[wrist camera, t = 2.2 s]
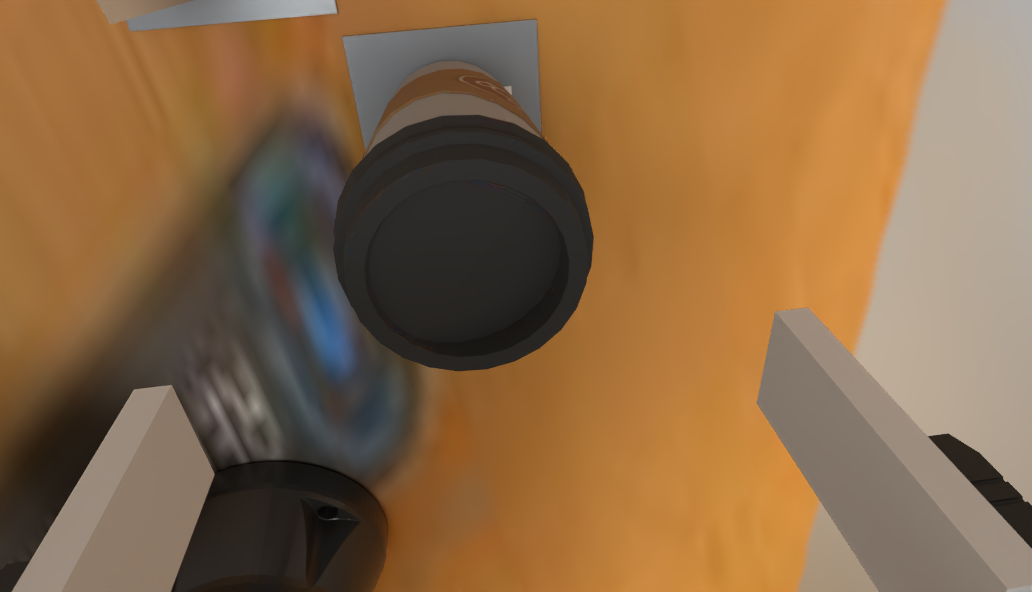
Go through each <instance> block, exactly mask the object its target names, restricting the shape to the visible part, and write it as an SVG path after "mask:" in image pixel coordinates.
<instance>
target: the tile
mask: <svg viewBox="0 0 1032 592" xmlns="http://www.w3.org/2000/svg"><path fill="white" fill-rule="evenodd" d="M342 39H343V44H344V48H345V53H346V58H347V63H348V68H349V73H350V78H351V83H352V88H353V93H354V98H355V103H356V108H357V112H358V117H359V122H360V127H361V132H362V137H363V142H364V147H365V151H366V149H367V146H368V144H369V142H370V140H371V138H372V136H373V134H374V132H375V130H376V127H377V125H378V123H379V121H380V119H381V117H382V115H383V113H384V111H385V108H386V106H387V104H388V103H389V102H390V101H391V99H392V98H393V96H394V94H395V92H396V89H397V88H398V87H399V86H400V85H401V84H402V82H403V81H404V80H405V79H406V78H407V77H408V76H409V75H410V74H412V73H414V72H415V71H417V70H418V69H420V68H421V67H423V66H426V65H429V64H433V63H436V62H439V61H461V62H465V63H468V64H472V65H476V66H477V67H479V68H481V69H483V70H484V71H486V72H488V73H489V74H491V75H492V76H493V77H494V78H495V79H496V80H497V81H498V82H499V83H500V84H501V85H502V86H503V87H504V88H505V89H506V90H507V91H508V92H509V93H510V94H511V95H512V96H513V97H514V98H515V100H516V101H517V102H518V104H519V105H520V106H521V108H522V109H523V110H524V112H525V113H526V114H527V116H528V117H529V118H530V120H531V121H532V122H533V123H534V125H535V126H536V127H537V129H538V130H539V131H540V133H541V109H540V86H539V62H538V38H537V19H529V20H518V21H507V22H496V23H485V24H473V25H462V26H451V27H440V28H429V29H418V30H406V31H395V32H384V33H373V34H362V35H351V36H342ZM541 134H542V133H541Z"/></svg>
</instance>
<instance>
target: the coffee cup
mask: <svg viewBox="0 0 1032 592" xmlns="http://www.w3.org/2000/svg"><path fill="white" fill-rule="evenodd" d="M334 236H335V240H334V249H333V250H334V256H335V262H336V267H337V273H338V279H339V281H340V283H341V286H342V288H343V290H344V292H345V294H346V296H347V298H348V300H349V302H350V304H351V306H352V307H353V308H354V310H355V312H356V314H357V316H358V318H359V320H360V321H361V323H362V324H363V325H364V326H365V327H366V328H367V329H368V330H369V331H370V333H371V334H372V335H373V336H374V337H375V338H376V339H377V340H378V341H379V342H380V343H382V344H383V345H385V346H386V347H388V348H389V349H391V350H392V351H394V352H395V353H397V354H398V355H400V356H401V357H403V358H406V359H408V360H411V361H414V362H417V363H419V364H422V365H425V366H428V367H432V368H439V369H446V370H454V371H467V370H481V369H489V368H493V367H496V366H500V365H503V364H507V363H510V362H514V361H516V360H518V359H520V358H522V357H524V356H526V355H528V354H529V353H531V352H533V351H535V350H537V349H539V348H540V347H541V346H543V345H544V344H545V343H546V342H547V341H549V340H550V339H551V338H552V337H553V336H554V335H556V334H557V333H558V332H559V331H560V330H561V329H562V328H563V326H564V325H565V324H566V322H567V321H568V319H569V318H570V317H571V315H572V314H573V312H574V311H575V310H576V308H577V306H578V303H579V301H580V298H581V295H582V293H583V290H584V288H585V285H586V280H587V276H588V273H589V271H590V268H591V262H592V250H593V238H594V237H593V232H592V227H591V222H590V218H589V213H588V208H587V204H586V201H585V196H584V191H583V189H582V188H581V186H580V184H579V182H578V180H577V178H576V177H575V175H574V173H573V171H572V169H571V167H570V166H569V164H568V163H567V162H566V161H565V160H564V159H563V158H562V157H561V156H560V155H559V154H558V153H557V152H556V151H555V150H554V149H553V148H552V147H551V146H550V145H549V144H548V143H547V142H546V141H545V140H544V138H543V136H542V134H541V133H540V131H539V130H538V129H537V127H536V126H535V125H534V123H533V122H532V121H531V120H530V118H529V117H528V116H527V114H526V113H525V112H524V110H523V109H522V108H521V106H520V105H519V104H518V102H517V101H516V100H515V98H514V97H513V96H512V95H511V94H510V93H509V92H508V91H507V90H506V89H505V88H504V87H503V86H502V85H501V84H500V83H499V82H498V81H497V80H496V79H495V78H494V77H493V76H492V75H491V74H489V73H488V72H486V71H484V70H483V69H481V68H479V67H477V66H476V65H472V64H468V63H465V62H461V61H439V62H436V63H433V64H429V65H426V66H423V67H421V68H420V69H418V70H417V71H415V72H414V73H412V74H410V75H409V76H408V77H407V78H406V79H405V80H404V81H403V82H402V84H401V85H400V86H399V87H398V88H397V89H396V92H395V94H394V96H393V98H392V99H391V101H390V102H389V103H388V104H387V106H386V108H385V111H384V113H383V115H382V117H381V119H380V121H379V123H378V125H377V127H376V130H375V132H374V134H373V136H372V138H371V140H370V142H369V144H368V146H367V149H366V151H365V153H364V155H363V159H362V161H361V162H360V163H359V164H358V165H357V166H356V167H355V168H354V169H353V171H352V172H351V174H350V176H349V179H348V181H347V183H346V185H345V187H344V189H343V191H342V194H341V196H340V198H339V200H338V205H337V212H336V220H335V227H334Z"/></svg>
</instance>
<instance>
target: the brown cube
mask: <svg viewBox="0 0 1032 592" xmlns="http://www.w3.org/2000/svg"><path fill="white" fill-rule="evenodd" d="M96 1H97V2H98V4H99V6H100V8H101V10H102V11H103V13H104V15H105V17H106V18H107V20H108V22H109V24H110V25H111V24H114V23H117V22H121V21H124V20H128V19H131V18H135V17H138V16H142V15H145V14H148V13H152V12H155V11H159V10H162V9H166V8H169V7H173V6H176V5H179V4H183V3H186V2H190V1H193V0H96Z"/></svg>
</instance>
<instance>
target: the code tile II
mask: <svg viewBox="0 0 1032 592" xmlns="http://www.w3.org/2000/svg"><path fill="white" fill-rule="evenodd" d="M334 13H338V11H337V6H336V1H335V0H193V1H190V2H186V3H183V4H179V5H176V6H173V7H169V8H166V9H162V10H159V11H155V12H152V13H148V14H145V15H142V16H138V17H135V18H131V19H128V20H126V21H127V24H128V27H129V29H130V31H139V30H151V29H162V28H174V27H185V26H197V25H208V24H220V23H231V22H243V21H254V20H266V19H277V18H289V17H300V16H311V15H323V14H334Z"/></svg>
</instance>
